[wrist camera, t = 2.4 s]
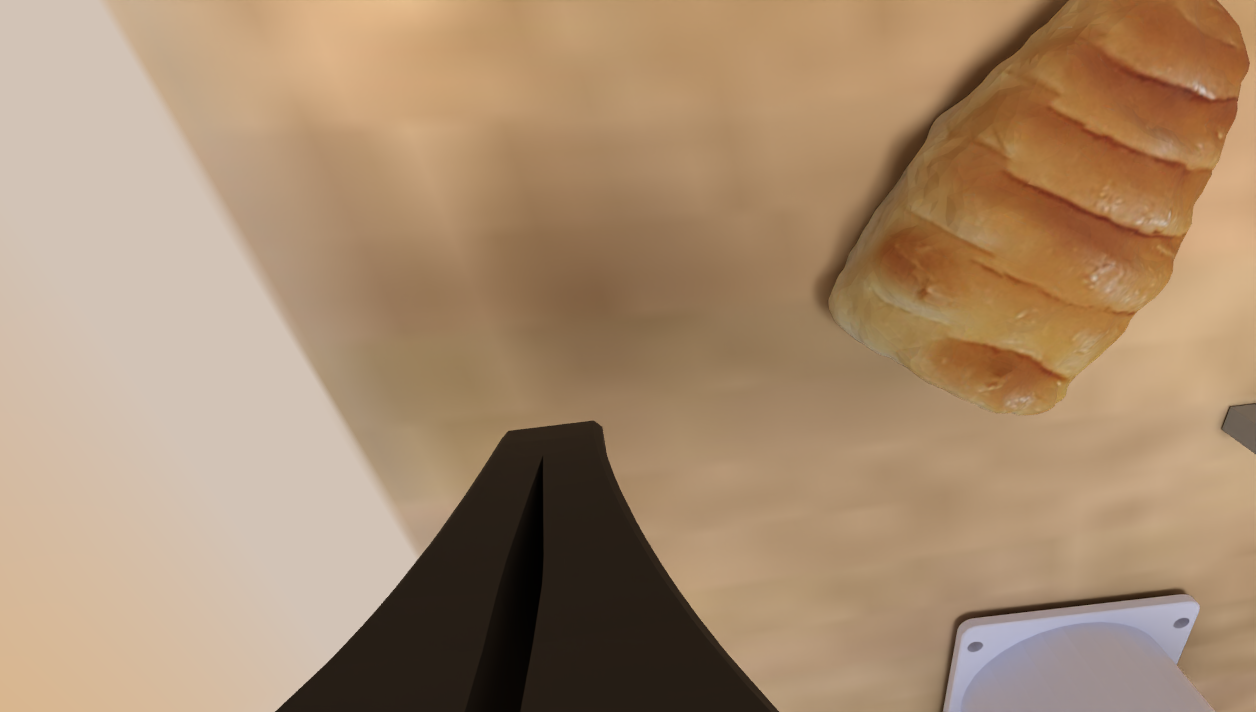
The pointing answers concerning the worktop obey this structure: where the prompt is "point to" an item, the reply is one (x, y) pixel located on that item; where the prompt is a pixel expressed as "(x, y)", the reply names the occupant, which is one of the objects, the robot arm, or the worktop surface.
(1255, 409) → the grey u-shaped bracket
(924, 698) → the worktop surface
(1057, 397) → the pastry
